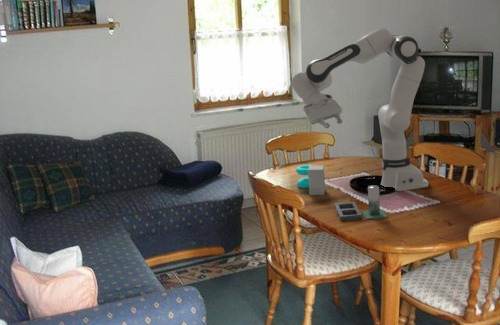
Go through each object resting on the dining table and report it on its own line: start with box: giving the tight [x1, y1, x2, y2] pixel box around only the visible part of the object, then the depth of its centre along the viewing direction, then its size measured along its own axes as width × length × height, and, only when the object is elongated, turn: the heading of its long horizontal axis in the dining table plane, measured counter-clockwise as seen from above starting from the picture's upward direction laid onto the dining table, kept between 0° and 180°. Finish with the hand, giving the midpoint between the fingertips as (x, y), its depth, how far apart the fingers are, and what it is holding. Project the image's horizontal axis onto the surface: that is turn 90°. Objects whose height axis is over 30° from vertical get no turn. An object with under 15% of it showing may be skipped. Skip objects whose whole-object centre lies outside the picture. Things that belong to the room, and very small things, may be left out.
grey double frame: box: [334, 201, 363, 222], centre depth 258 cm, size 9×17×2 cm, turn 0°
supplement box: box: [307, 165, 326, 196], centre depth 288 cm, size 7×7×13 cm
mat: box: [361, 208, 388, 221], centre depth 253 cm, size 9×9×1 cm
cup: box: [367, 184, 381, 216], centre depth 252 cm, size 5×5×12 cm
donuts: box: [295, 164, 313, 189], centre depth 300 cm, size 10×10×10 cm
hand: (334, 125), depth 268 cm, fingers open, 8 cm apart
